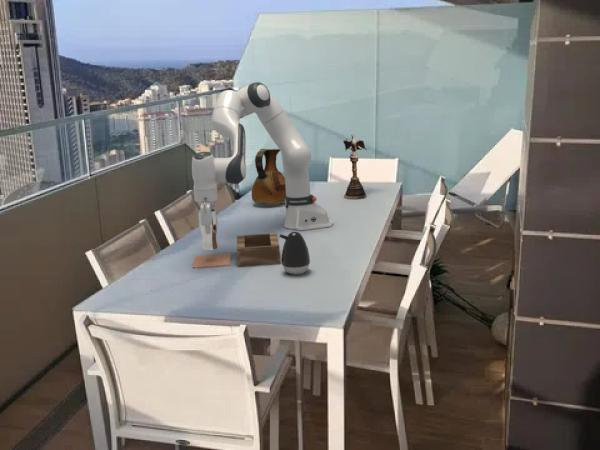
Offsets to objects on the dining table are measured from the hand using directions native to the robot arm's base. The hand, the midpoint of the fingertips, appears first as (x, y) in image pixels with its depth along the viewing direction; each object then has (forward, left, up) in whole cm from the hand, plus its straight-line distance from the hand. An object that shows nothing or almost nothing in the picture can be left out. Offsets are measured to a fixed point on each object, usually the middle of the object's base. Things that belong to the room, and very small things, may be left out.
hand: (209, 230), depth 237 cm
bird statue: (-73, -97, -12) cm, 122 cm away
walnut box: (-18, 0, -12) cm, 22 cm away
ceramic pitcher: (-27, -91, -12) cm, 96 cm away
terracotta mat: (0, 0, -12) cm, 12 cm away
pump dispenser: (-31, +20, -12) cm, 39 cm away
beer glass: (0, 0, -7) cm, 7 cm away
